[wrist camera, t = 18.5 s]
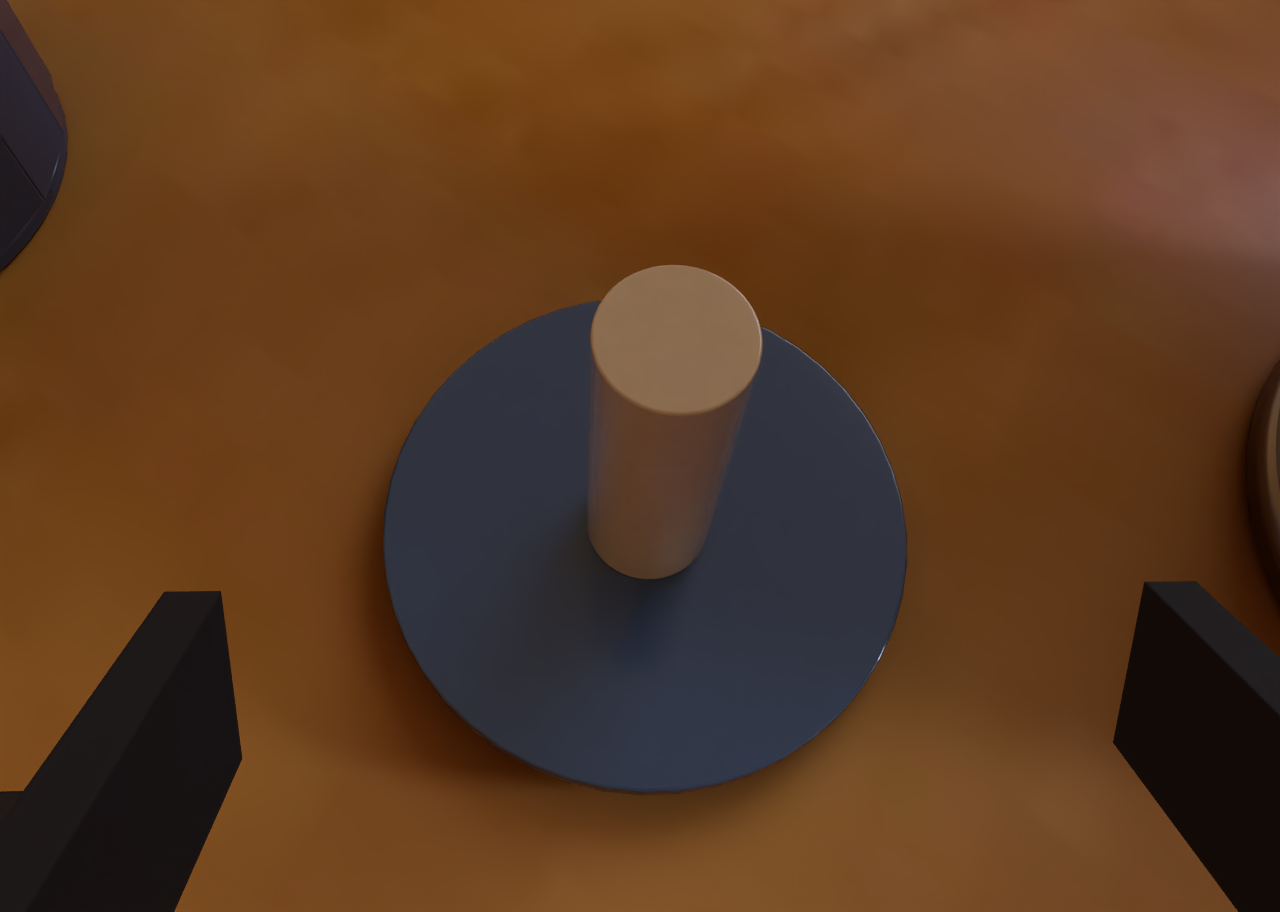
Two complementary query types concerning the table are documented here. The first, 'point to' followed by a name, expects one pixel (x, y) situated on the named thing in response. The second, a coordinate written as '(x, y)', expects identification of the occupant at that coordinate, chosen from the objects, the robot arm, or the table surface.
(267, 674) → the table surface
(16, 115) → the dark blue cylinder
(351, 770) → the table surface
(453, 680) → the lid
